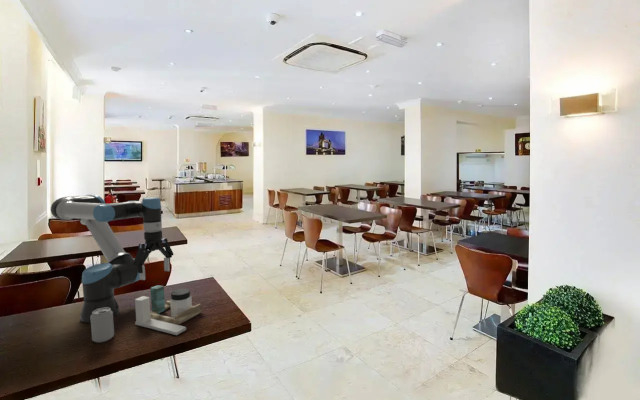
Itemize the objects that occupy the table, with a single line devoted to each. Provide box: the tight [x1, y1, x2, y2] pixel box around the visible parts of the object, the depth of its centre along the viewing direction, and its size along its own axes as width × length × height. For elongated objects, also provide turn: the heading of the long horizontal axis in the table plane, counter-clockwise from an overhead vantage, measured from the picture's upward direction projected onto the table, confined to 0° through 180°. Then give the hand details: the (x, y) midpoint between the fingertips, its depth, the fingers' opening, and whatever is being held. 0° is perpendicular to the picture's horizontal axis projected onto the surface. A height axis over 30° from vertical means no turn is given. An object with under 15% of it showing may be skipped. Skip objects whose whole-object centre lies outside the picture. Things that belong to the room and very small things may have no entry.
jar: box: [169, 288, 193, 318], centre depth 151 cm, size 9×8×12 cm
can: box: [90, 307, 115, 343], centre depth 132 cm, size 8×8×12 cm
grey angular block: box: [134, 295, 187, 336], centre depth 141 cm, size 24×5×11 cm, turn 67°
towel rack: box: [150, 284, 202, 325], centre depth 153 cm, size 22×14×12 cm
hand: (155, 275), depth 155 cm, fingers open, 13 cm apart
